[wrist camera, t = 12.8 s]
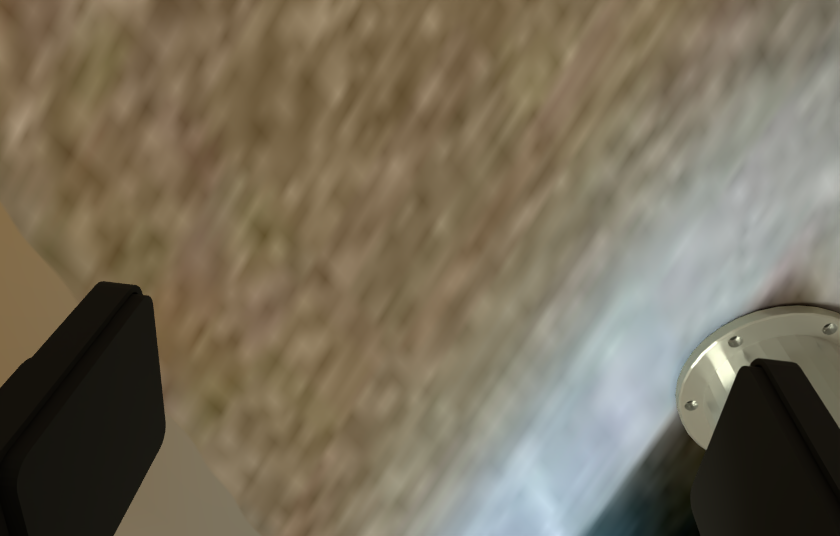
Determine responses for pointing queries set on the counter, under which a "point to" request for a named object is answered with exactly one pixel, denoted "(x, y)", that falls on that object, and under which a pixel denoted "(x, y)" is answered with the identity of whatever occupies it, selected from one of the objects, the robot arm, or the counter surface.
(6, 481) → the robot arm
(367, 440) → the counter surface
